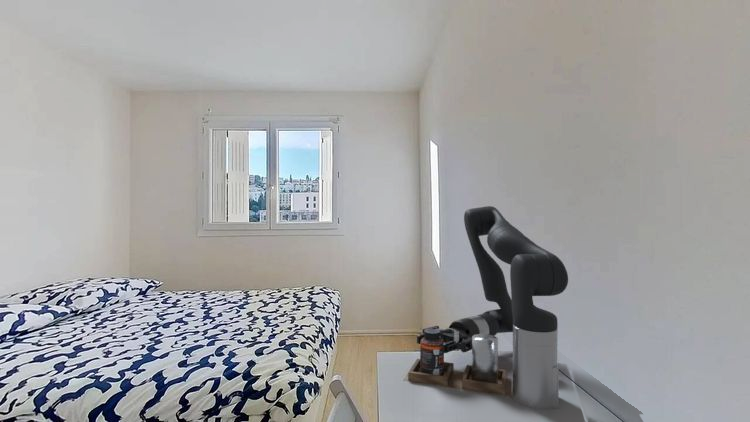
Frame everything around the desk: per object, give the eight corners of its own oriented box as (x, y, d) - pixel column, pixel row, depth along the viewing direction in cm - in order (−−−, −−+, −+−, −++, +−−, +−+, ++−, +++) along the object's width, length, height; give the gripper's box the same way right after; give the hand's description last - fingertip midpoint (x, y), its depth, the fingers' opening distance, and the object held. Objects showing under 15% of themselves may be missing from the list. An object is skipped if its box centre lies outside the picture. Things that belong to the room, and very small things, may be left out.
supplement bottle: (443, 381, 96) (443, 335, 96) (419, 379, 97) (419, 333, 97) (444, 371, 102) (444, 328, 102) (421, 369, 103) (421, 326, 103)
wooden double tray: (511, 383, 98) (511, 370, 98) (510, 401, 88) (510, 387, 88) (413, 369, 106) (413, 357, 106) (403, 384, 97) (403, 371, 97)
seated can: (498, 380, 97) (498, 335, 97) (497, 390, 91) (497, 343, 91) (473, 376, 99) (473, 332, 99) (470, 386, 93) (470, 340, 93)
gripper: (449, 312, 115) (409, 323, 105) (491, 323, 104) (452, 336, 94) (449, 338, 115) (409, 351, 105) (491, 351, 104) (452, 367, 94)
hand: (430, 344), depth 99 cm, fingers open, 8 cm apart
